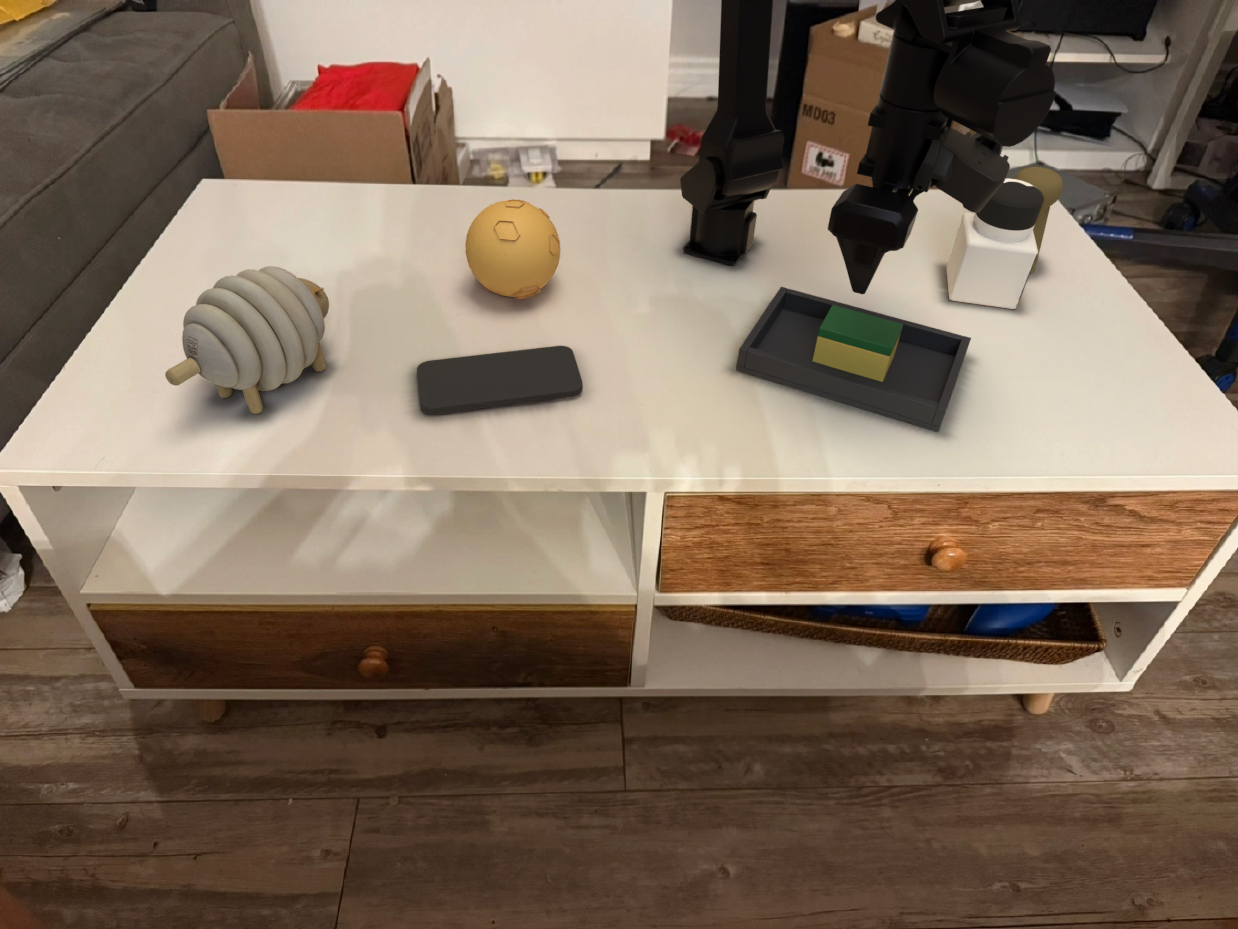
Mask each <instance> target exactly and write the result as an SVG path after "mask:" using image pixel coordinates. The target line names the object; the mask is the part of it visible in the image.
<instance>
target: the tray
mask: <svg viewBox="0 0 1238 929" xmlns="http://www.w3.org/2000/svg"><path fill="white" fill-rule="evenodd" d="M832 305H835V306H838V307H842V308H846V309H849V310H853V311H857V312H860V313H864V314H868V315H872V316H875V317H879V318H883V319H886V320H890V321H894V322H897V323H901V324H903V327H902V331H901V334H900V337H899V341H898V344H897V347H896V351H895V354H894V358H893V360H892V362H891V364H890V367H889V369H888V371H887V373H886V376H885V378H884V380H883V382H880V381H877V380H874V379H870V378H867V377H863V376H860V375H857V374H853V373H850V372H846V371H843V370H840V369H836V368H833V367H829V366H826V365H822V364H819V363H816V362H813V361H812V360H813V355H814V351H815V346H816V342H817V337H818V332H819V328H820V326H821V324H822V323H823V321H824V319H825V317H826V316H827V314H828V312H829V310H830V309H831V307H832ZM971 339H972V337H969V336H965V335H962V334H958V333H955V332H951V331H947V330H943V329H940V328H936V327H932V326H929V325H925V324H921V323H917V322H913V321H910V320H907V319H903V318H899V317H895V316H891V315H888V314H884V313H881V312H876V311H873V310H869V309H866V308H862V307H857V306H855V305H851V304H848V303H844V302H840V301H836V300H832V299H829V298H824V297H821V296H818V295H814V294H810V293H806V292H802V291H799V290H795V289H792V288H788V287H785V286H780V287H779V289H778V290H777V292H775V295H774V297H772V298H771V301H770V302H769V304H768V305H767V307H766V308H765V310H764V311H763V312H762V314H761V316H760V317H759V319H758V320H757V322H756V323H755V325H754V326H753V327H752V328H751V330H750V332H749V334H748V335H747V337H746V338H745V340H744V341H743V343H741V345H740V346H739V348H738V355H737V360H736V366H735V367H736V369H735V370H736V371H737V372H740V373H744V374H747V375H750V376H753V377H756V378H760V379H763V380H766V381H770V382H773V383H776V384H780V385H783V386H787V387H789V388H793V389H796V390H800V391H803V392H805V393H809V394H812V395H815V396H820V397H822V398H825V399H828V400H832V401H835V402H839V403H841V404H845V405H849V406H851V407H855V408H858V409H862V410H865V411H868V412H872V413H875V414H878V415H882V416H883V417H887V418H890V419H891V418H892V419H894V420H897V421H901V422H904V423H908V424H910V425H914V426H918V427H921V428H923V429H926V430H930V431H934V432H937V433H939V431H940V429H941V426H942V424H943V421H944V418H945V415H946V413H947V409H948V406H949V404H950V400H951V398H952V396H953V393H954V389H955V386H956V383H957V381H958V377H959V375H960V372H961V369H962V367H963V363H964V360H965V357H966V354H967V351H968V348H969V345H970V342H971V341H972V340H971Z"/></svg>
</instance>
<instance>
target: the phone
mask: <svg viewBox="0 0 1238 929" xmlns="http://www.w3.org/2000/svg"><path fill="white" fill-rule="evenodd" d="M416 374H417V375H416V376H417V386H418V397H419V404H420V409H421V410H422V412H423V413H425V414H428V415H436V414H445V413H454V412H461V411H469V410H478V409H485V408H492V407H500V406H509V405H518V404H524V403H525V404H526V403H534V402H540V401H542V402H543V401H548V400H549V401H550V400H556V399H557V400H558V399H565V398H573V397H577V396H579V395H580V394H582V392H583V388H584V387H583V385H584V384H583V379H582V375H581V372H580V370H579V365H578V363H577V359H576V356H575V353H574V351H573V349H572V348H571V347H570V346H566V345H553V346H544V347H535V348H527V349H519V350H511V351H510V350H509V351H502V352H501V351H500V352H493V353H483V354H475V355H467V356H459V357H458V356H457V357H449V358H440V359H439V358H438V359H432V360H431V359H430V360H427V361H423V362H421V363H419V364H418V366H417V367H416Z"/></svg>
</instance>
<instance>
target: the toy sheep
mask: <svg viewBox="0 0 1238 929" xmlns="http://www.w3.org/2000/svg"><path fill="white" fill-rule="evenodd" d="M329 309H330V300H329V297H328V295H327V293H326V291H325V287H320V286H319V285H318V284H317V283H315V282H313V281H311V280H308V279H306V278H301V277H297V276H296V275H295V274H293V273H292V272H291V271H289V270H287V269H285V268H283V267H279V266H273V265H269V266H268V265H267V266H264V267H261V268H259V269H258V270H257V269H253V268H252V269H251V268H250V269H249V268H248V269H244V270H242V271H239V272H238V273H236V275H227V276H224V277H221V278H220V279H218V280H217V281H216V282H215V283H214V284H213V287H212V288H209V289H206V290H204V291H203V292H202V293H201V294H199V296H198V298H197V299H196V302H195V305H193V306H191V307H190V308H189V309H188V310H187V311H186V312H185V314H184V317H183V320H182V328H183V330H182V336H181V338H182V340H181V341H182V349H183V352H184V356H185V358H186V359H184V360H183V361H181V362H179V363H177V364H176V365H174V366H172V367H170V368H168V369H167V370H166V371H165V373H164V374H165V379H166V380H167V382H168V383H169V384H170V385H172V386H174V387H175V386H176V387H177V386H180V385H181V384H183V383H185V382H187V381H188V380H190V379H192V378H193V377H195V376H197V375H199V376H200V377H202V379H204V380H206V381H207V382H209V383H212V384H214V385H215V388H216V391H217V394H218V396H219V397H220V398H221V399H229V398H230V397H231V396H232V395H233V393H234V392H233V391H234V390H239V391H242V393H243V396H244V399H245V402H246V405H247V408H248V411H249V412H250V413H251V414H253V415H258V414H260V413H262V412H263V411H264V404H263V401H262V399H261V395H260V392H259V391H261V392H270V391H274V390H277V389H278V388H279V387H280V386H281V385H283V384H284V385H285V384H290V383H293V382H295V381H296V380H297V379H298V378H299V377H300V376H301V374H302V372H303V370H304V369H306V368H308V367H309V366H311V367H312V369H313V370H314V371H316V372H320V373H321V372H323V371H325V370H326V368H327V362H326V359H325V356H324V351H323V349H322V344H321V341H322V340H323V338H324V335H325V330H326V322H325V318H326V317H327V315H328V313H329ZM233 389H234V390H233Z"/></svg>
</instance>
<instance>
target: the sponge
mask: <svg viewBox="0 0 1238 929" xmlns="http://www.w3.org/2000/svg"><path fill="white" fill-rule="evenodd" d="M902 327H903V324H901V323H897V322H894V321H890V320H886V319H883V318H879V317H875V316H872V315H868V314H864V313H860V312H857V311H853V310H849V309H846V308H842V307H838V306H835V305H832V307H831V309H830V310H829V312H828V314H827V316H826V317H825V319H824V321H823V323H822V324H821V326H820V328H819V332H818V337H817V342H816V346H815V351H814V355H813V360H812V361H813V362H816V363H819V364H822V365H826V366H829V367H833V368H836V369H840V370H843V371H846V372H850V373H853V374H857V375H860V376H863V377H867V378H870V379H874V380H877V381H880V382H883V380H884V378H885V376H886V373H887V371H888V369H889V367H890V364H891V362H892V360H893V358H894V354H895V351H896V347H897V344H898V341H899V337H900V334H901V331H902Z"/></svg>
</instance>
